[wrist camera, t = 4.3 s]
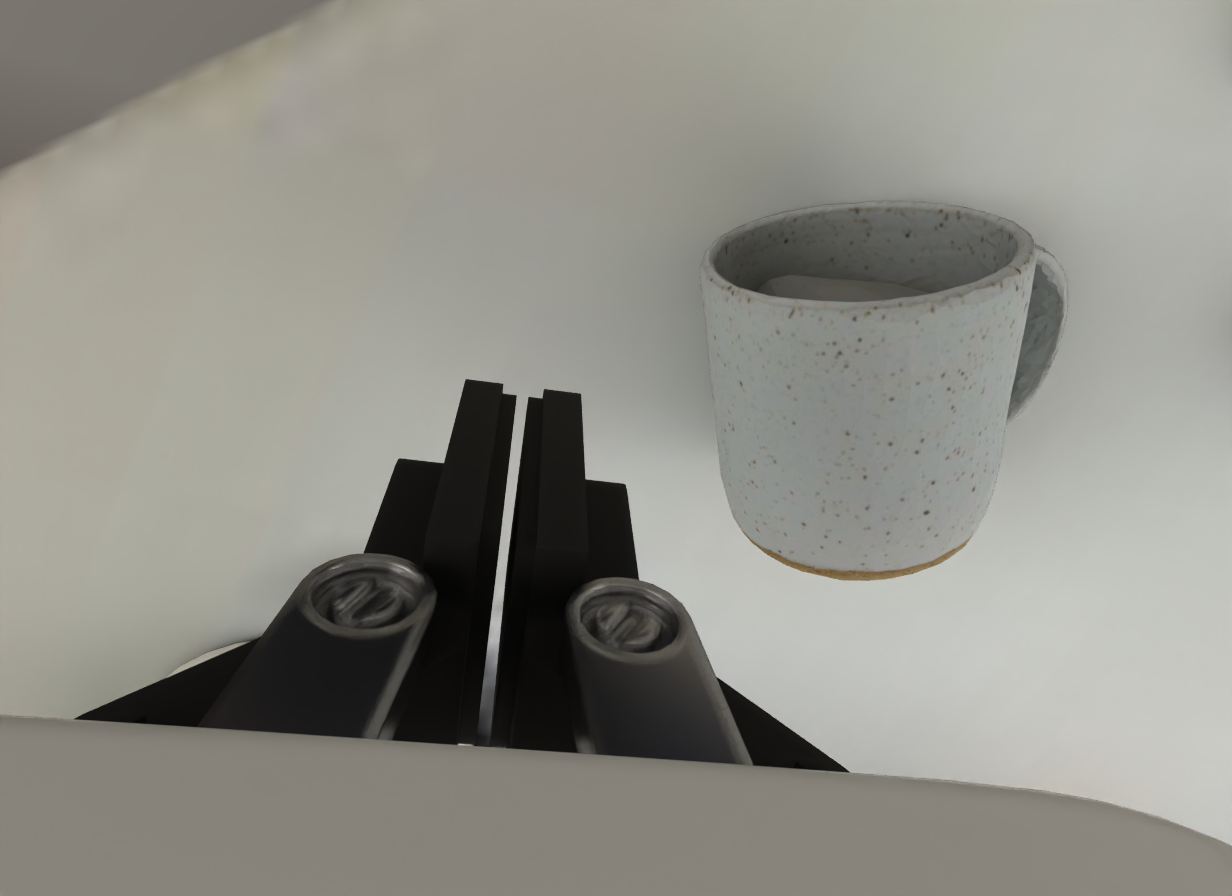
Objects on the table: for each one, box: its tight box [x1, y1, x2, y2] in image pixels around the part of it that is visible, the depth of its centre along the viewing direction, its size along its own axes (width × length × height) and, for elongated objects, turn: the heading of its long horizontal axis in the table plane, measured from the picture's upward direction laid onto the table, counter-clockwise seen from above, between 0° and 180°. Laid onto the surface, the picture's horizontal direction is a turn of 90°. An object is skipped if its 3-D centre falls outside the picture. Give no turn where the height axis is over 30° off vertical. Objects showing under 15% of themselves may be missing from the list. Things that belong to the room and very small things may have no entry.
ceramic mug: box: [700, 201, 1068, 581], centre depth 21 cm, size 11×8×8 cm
